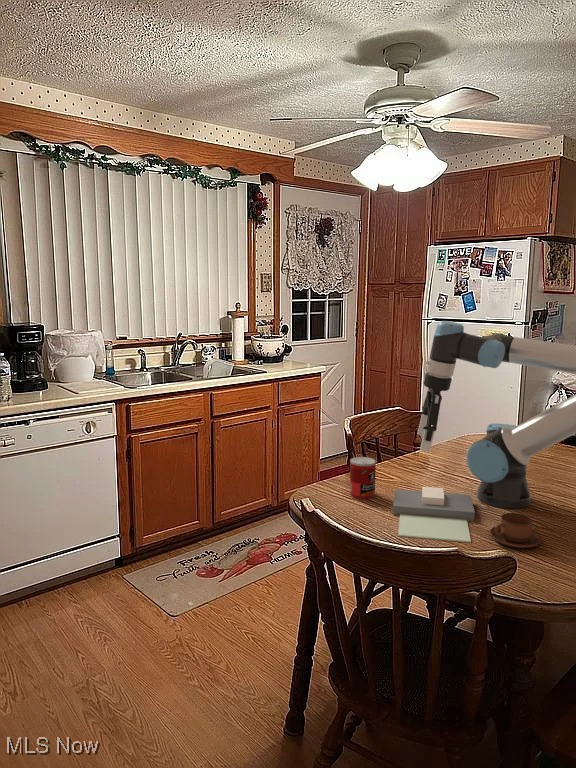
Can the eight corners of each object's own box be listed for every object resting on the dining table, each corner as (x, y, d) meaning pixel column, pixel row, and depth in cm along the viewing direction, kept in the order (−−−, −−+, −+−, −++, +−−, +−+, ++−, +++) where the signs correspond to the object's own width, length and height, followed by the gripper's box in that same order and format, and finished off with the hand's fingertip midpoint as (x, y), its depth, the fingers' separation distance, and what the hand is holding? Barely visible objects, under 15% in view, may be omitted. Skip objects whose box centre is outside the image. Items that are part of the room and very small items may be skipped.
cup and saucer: (523, 556, 138) (524, 532, 137) (480, 539, 147) (481, 516, 146) (550, 544, 145) (552, 520, 144) (508, 528, 154) (509, 506, 153)
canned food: (363, 501, 174) (363, 465, 172) (344, 494, 180) (344, 459, 178) (380, 495, 178) (381, 461, 177) (361, 488, 184) (362, 455, 183)
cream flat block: (422, 492, 173) (422, 486, 173) (442, 494, 172) (443, 488, 171) (422, 503, 164) (422, 496, 164) (444, 505, 163) (444, 498, 163)
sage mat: (466, 521, 158) (466, 519, 158) (470, 542, 145) (470, 541, 145) (399, 515, 162) (400, 514, 162) (397, 536, 149) (397, 534, 149)
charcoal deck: (470, 502, 172) (470, 494, 171) (474, 521, 158) (474, 512, 158) (395, 497, 177) (395, 489, 176) (392, 514, 163) (393, 505, 163)
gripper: (423, 363, 180) (408, 426, 185) (429, 382, 156) (412, 455, 162) (447, 367, 179) (432, 431, 185) (457, 388, 155) (439, 460, 161)
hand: (423, 442), depth 173 cm, fingers open, 13 cm apart
